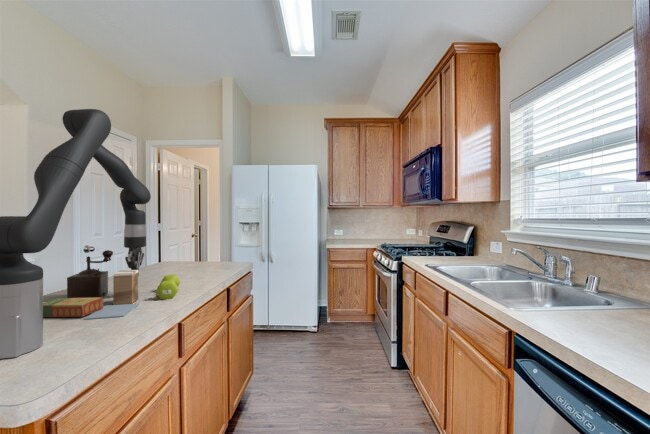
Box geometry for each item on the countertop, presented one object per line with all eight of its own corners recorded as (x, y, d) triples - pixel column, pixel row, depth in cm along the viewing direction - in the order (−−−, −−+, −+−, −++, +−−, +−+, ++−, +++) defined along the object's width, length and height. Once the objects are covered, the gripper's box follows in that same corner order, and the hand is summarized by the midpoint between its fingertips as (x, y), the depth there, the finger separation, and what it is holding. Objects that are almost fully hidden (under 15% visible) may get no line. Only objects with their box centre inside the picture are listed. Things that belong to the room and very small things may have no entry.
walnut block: (131, 304, 104) (132, 272, 104) (113, 305, 102) (113, 273, 102) (138, 299, 110) (138, 269, 110) (120, 301, 108) (120, 270, 108)
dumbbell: (177, 299, 111) (177, 281, 111) (154, 301, 108) (154, 283, 108) (180, 289, 127) (180, 273, 127) (160, 290, 123) (160, 274, 123)
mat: (123, 316, 91) (123, 315, 91) (83, 319, 89) (83, 318, 89) (138, 304, 104) (138, 303, 104) (104, 306, 101) (104, 305, 101)
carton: (82, 317, 90) (82, 304, 89) (34, 317, 90) (34, 304, 90) (103, 308, 98) (103, 296, 98) (59, 308, 98) (59, 296, 98)
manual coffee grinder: (100, 299, 110) (101, 254, 110) (65, 301, 107) (66, 255, 106) (114, 289, 125) (115, 249, 125) (84, 291, 121) (84, 250, 121)
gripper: (139, 236, 109) (139, 280, 109) (151, 234, 121) (150, 273, 121) (117, 236, 107) (116, 281, 107) (131, 234, 119) (131, 274, 119)
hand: (135, 277), depth 114 cm, fingers closed
